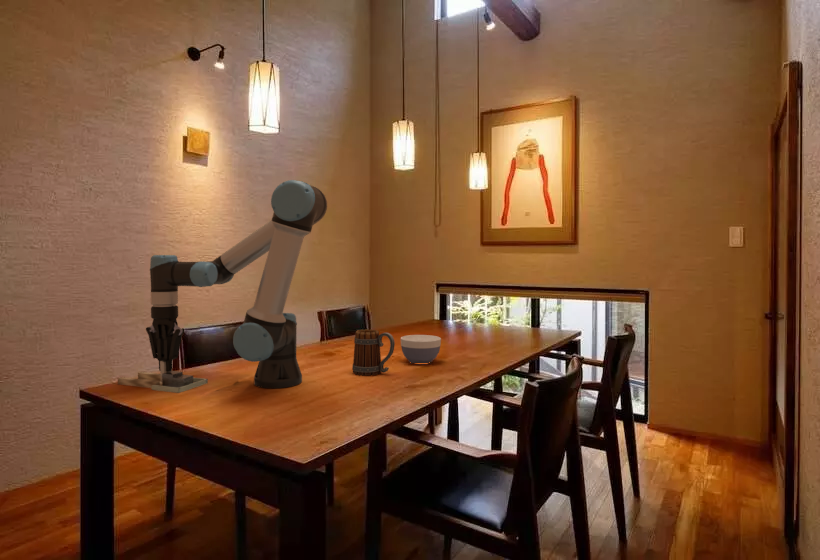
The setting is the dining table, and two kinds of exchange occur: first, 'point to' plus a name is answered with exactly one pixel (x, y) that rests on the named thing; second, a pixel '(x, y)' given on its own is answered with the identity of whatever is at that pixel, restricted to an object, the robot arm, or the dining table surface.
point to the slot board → (142, 380)
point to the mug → (370, 352)
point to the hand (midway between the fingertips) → (165, 381)
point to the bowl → (420, 348)
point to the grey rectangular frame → (177, 390)
